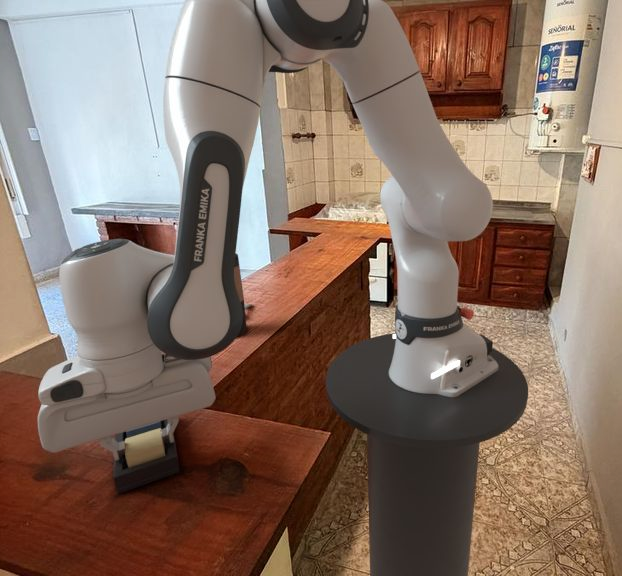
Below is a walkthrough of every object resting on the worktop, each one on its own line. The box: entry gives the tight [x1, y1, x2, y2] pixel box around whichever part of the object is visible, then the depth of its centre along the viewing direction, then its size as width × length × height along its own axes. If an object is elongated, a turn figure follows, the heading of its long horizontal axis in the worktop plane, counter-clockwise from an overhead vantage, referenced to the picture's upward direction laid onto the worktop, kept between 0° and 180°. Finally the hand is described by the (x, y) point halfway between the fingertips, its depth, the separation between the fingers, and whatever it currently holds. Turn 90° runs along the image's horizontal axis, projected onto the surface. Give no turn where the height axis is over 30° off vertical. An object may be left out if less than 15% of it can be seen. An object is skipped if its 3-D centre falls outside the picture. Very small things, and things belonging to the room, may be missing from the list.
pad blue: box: [126, 421, 162, 438], centre depth 62 cm, size 4×4×3 cm
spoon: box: [244, 303, 253, 310], centre depth 113 cm, size 3×12×2 cm, turn 3°
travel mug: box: [234, 253, 248, 338], centre depth 98 cm, size 8×8×20 cm
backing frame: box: [113, 419, 181, 495], centre depth 60 cm, size 8×14×3 cm, turn 31°
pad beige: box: [125, 428, 166, 468], centre depth 57 cm, size 4×4×3 cm
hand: (145, 448), depth 57 cm, fingers closed on pad beige, 4 cm apart
